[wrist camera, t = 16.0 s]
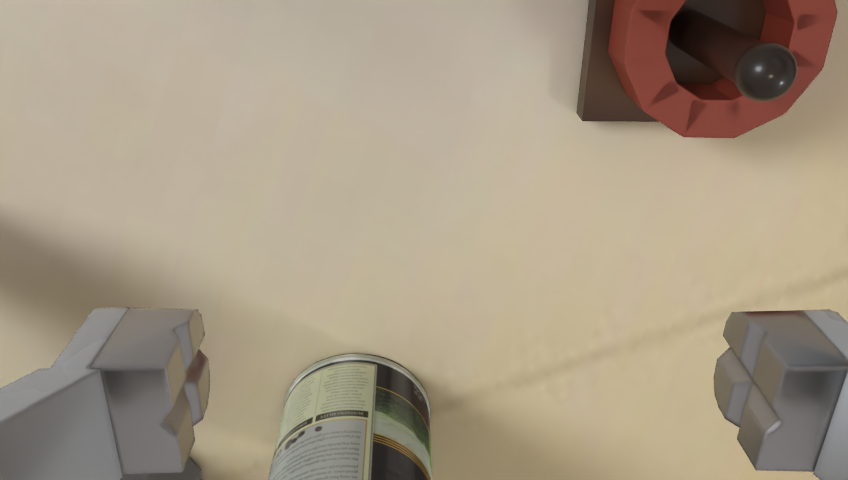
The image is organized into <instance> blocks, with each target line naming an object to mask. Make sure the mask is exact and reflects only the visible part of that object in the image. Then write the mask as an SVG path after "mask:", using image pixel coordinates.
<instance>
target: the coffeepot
mask: <svg viewBox="0 0 848 480" xmlns="http://www.w3.org/2000/svg"><path fill="white" fill-rule="evenodd" d="M120 480H201V469H200V468H199V467H198V466H197V465H196V463H195V462H194V461H193V460H192V459H191V458H190V457H188V460H187V463H186V465H185V468H184V471H183V472H178V473H145V474H122V478H121V479H120Z"/></svg>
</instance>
